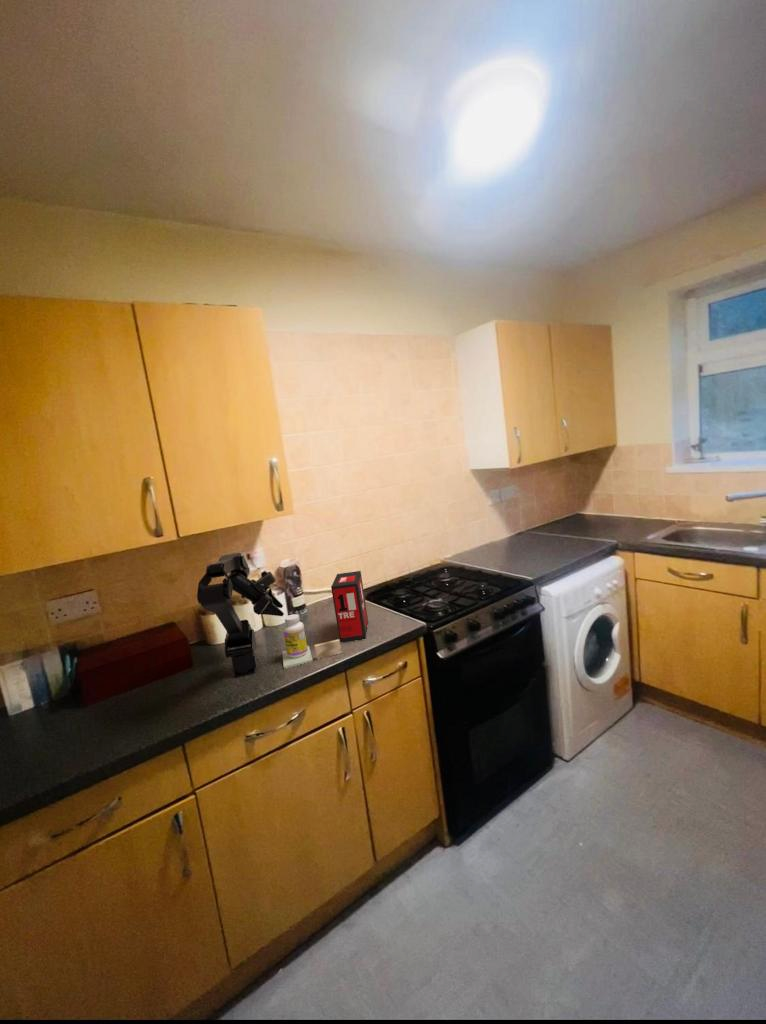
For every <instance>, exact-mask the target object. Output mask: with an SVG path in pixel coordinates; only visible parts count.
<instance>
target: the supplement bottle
mask: <svg viewBox="0 0 766 1024" xmlns="http://www.w3.org/2000/svg"><path fill="white" fill-rule="evenodd" d="M300 619H301V618H300V615H299V614H297V613H296V614H289V615H287V616H285V617H284V622H285V625H283V628H282V630H283V631H282V632H283V635H284V643H285V648H286V651H287V655H288V657H290V658H298V657H301V656H303V655H305V654H306V653H307V651H308V650H307V646H308V645H307V639H306V638H307V637H306V633H305V632H306V631H305V625H304V623H303V622H302V621H300Z"/></svg>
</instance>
